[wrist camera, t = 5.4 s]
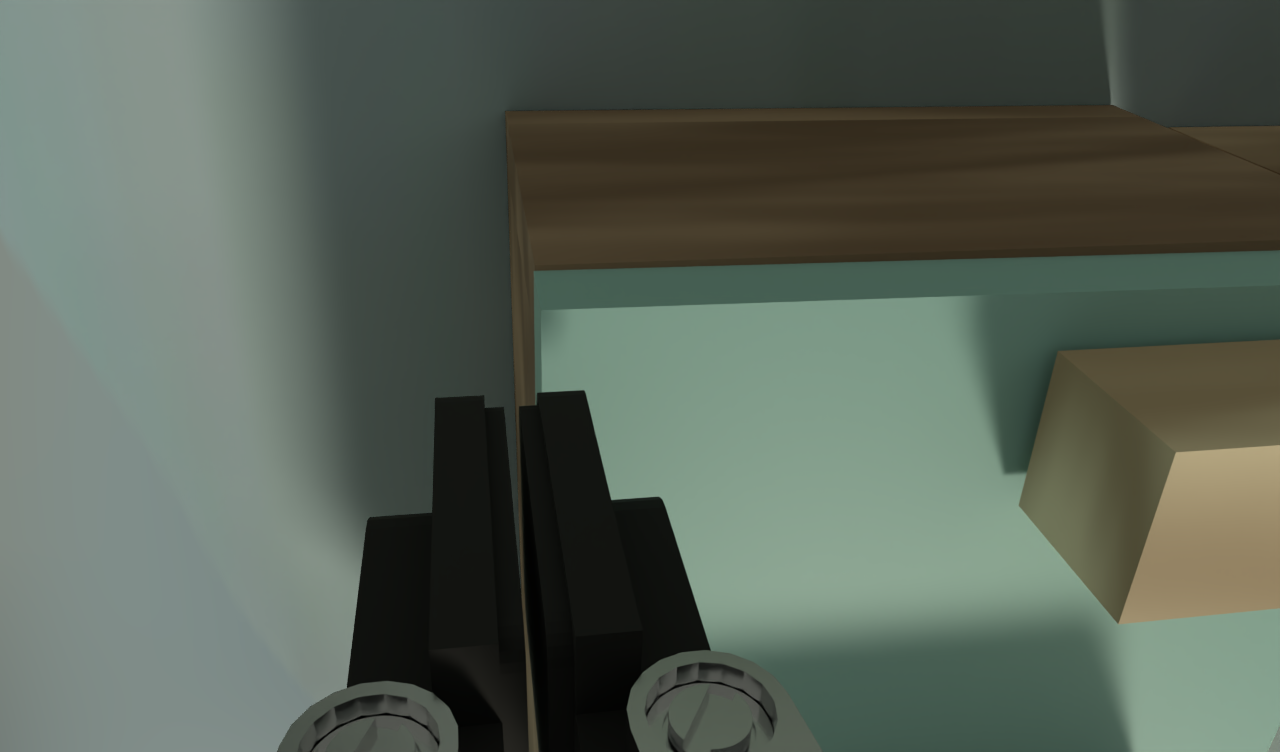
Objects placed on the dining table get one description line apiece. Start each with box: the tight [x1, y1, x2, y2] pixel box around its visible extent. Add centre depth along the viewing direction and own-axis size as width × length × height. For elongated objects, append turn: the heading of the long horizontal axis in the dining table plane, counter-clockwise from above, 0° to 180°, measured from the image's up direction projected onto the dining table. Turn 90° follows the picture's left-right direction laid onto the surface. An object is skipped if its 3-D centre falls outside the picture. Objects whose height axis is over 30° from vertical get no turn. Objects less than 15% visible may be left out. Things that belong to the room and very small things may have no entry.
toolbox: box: [505, 105, 1280, 752], centre depth 22 cm, size 18×24×9 cm
